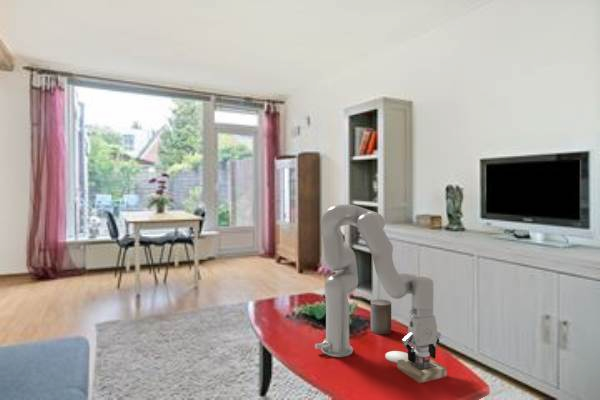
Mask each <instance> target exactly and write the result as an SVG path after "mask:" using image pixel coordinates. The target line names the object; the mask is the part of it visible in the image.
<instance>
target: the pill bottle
mask: <svg viewBox="0 0 600 400" xmlns="http://www.w3.org/2000/svg"><path fill="white" fill-rule="evenodd" d="M428 350H429V346H428V345H425V346H419V347H418V346H416V348H415V350H414V352H415V363H413V366H414V367H416V368H417V369H419V370H420V371H421V370H425V369H429V368H430V359H431V357H430V353H429V352H428Z"/></svg>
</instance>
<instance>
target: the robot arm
mask: <svg viewBox="0 0 600 400" xmlns="http://www.w3.org/2000/svg"><path fill="white" fill-rule="evenodd" d="M385 225H386V221H385V218H384V217H383V216H382V214H380V213H379V212H376V211H373V210H370V209H367V208H364V207H361V206H359V205H355V204H352V203H351V204H350V203H349V204H337V205H333V206H331V207H329V208H328V209H327V210H325V211H324V212H323V214H322V216H321V219H320V229H321V230H320V231H321V236H322V237H321V238H322V246H323V248H322V249H323V257H324V265H325V267H326V268H327V269H328V270H329V271H331V272H336V273H334V274H332V275H330V276H329V277H328V278H327V279H326V280H325V282H324V286H323V292H324V297H325V338H324V339H323V341H322V342H321V343H315V344H314V347H315V349H316V350H318V349H320V350H321V351H322V352H323V354H325V355H326V356H329V357H333V358H345V357H348V356H350V355H353V352H354V347H352V346H351V345H350V302H349V299H348V296H349V294H351V293H353V292H354V291H355V290H357V288H358V286H359V275H358V267H357V265H358V264H357V258H356V257H357V256H356V253H355V251H354V250H353V249H352V247H350V246H348V245H345V242H344V234H343V232H342V230H341V227H343V226H354V227H356V228H357V230H358V232H359V234H360V235H361V238H362V239H363V241H364V242H365V245H366V247H367V248H368V249H369V250H368V251H369V252H370V254H371V255H372V259H373V265H374V269H375V273H376V275H377V278H378V280H379V282H380V283H381V285H382V287H383V289H384V291H385V292H386V293H387V295H388V296H389V297H391V298H393V299H395V300H396V299H397V300H398V299H402V298H404V297H405V296H407V295H409V294H410V295H411V307H410V308H411V309H410V310H409V314H410V316H409V321H408V329H407V335H405V336H404V337H403V338H402V339H401V342H402V343H403V346H404V348H406V350H407V354H408V360H409V361H411V362H412V363H415V352H414V350H415V349H416V346H418V347H419V346H425V345H428V346H429V350H428V352H429V353H430V358H432V359H436V358H437V357H436V353H437V352H436V348H437V347H438V344H439V342H440V339H441V336H442V333H441V332H439V331H438V326H437V321H436V315H434V281H433V279H432V278H430V277H427V276H417V275H416V276H415V275H413V274H407V273H404V272H403V273H399V272H398V271H397V269H396V267H395V264H394V261H393V252H394V247H393V244H392V242H391V240H390V239H389V237H388V236H387V234H386V232H385V230H384V229H385Z"/></svg>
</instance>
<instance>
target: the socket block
mask: <svg viewBox="0 0 600 400" xmlns="http://www.w3.org/2000/svg"><path fill="white" fill-rule="evenodd" d="M396 365H397V366H396V367H397V370H399V371H400V372H401V373H404V374H405V375H407V376H408V377H409V378H411V379H412V380H414V381H416V382H418V383H419V384H421V383H426V382H430V381H434V380H435V381H436V380H438V379H442V378H446V377H447V367H445V366H444V365H441V364H440V363H438V362H436V361H435V360H433V359H431V358H430V368H429V369H425V370H421V371H420V370H419V369H417V368H416V367H414V366H413V363H412V362H411V361H409V360H408V358H406V359H401V360H398V362H397V363H396Z"/></svg>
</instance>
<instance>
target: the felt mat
mask: <svg viewBox="0 0 600 400" xmlns="http://www.w3.org/2000/svg"><path fill="white" fill-rule="evenodd" d="M384 355H385V356H384V357H385V359H386V360H387V361H389V362H392V363H395V364H397V362H398V360H401V359H406V358H408V352H404V351H398V350H392V351H391V350H390V351H388V352H386V353H385V354H384Z"/></svg>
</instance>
